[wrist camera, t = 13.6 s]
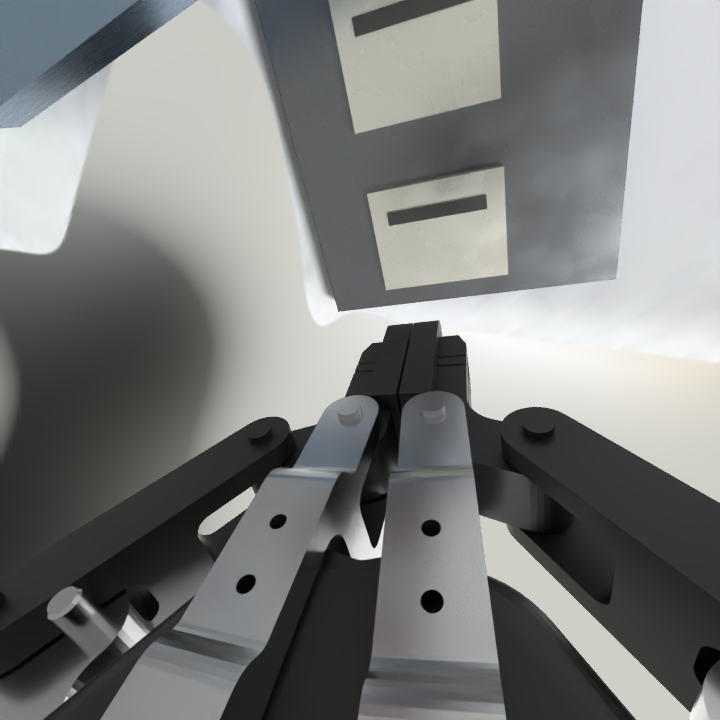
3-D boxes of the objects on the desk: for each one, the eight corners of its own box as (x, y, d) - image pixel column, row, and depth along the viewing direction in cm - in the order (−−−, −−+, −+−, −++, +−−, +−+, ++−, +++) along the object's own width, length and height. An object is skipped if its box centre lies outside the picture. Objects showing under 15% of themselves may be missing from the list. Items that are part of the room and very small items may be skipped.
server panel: (654, -249, 14) (763, -446, 9) (609, 271, 23) (650, 320, 18) (245, -72, 19) (163, -135, 14) (342, 303, 28) (315, 350, 23)
